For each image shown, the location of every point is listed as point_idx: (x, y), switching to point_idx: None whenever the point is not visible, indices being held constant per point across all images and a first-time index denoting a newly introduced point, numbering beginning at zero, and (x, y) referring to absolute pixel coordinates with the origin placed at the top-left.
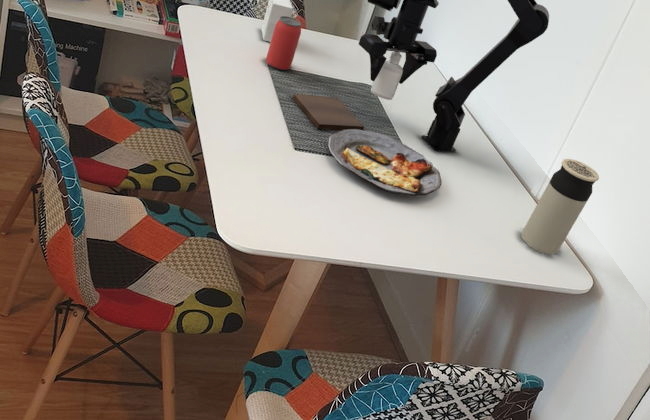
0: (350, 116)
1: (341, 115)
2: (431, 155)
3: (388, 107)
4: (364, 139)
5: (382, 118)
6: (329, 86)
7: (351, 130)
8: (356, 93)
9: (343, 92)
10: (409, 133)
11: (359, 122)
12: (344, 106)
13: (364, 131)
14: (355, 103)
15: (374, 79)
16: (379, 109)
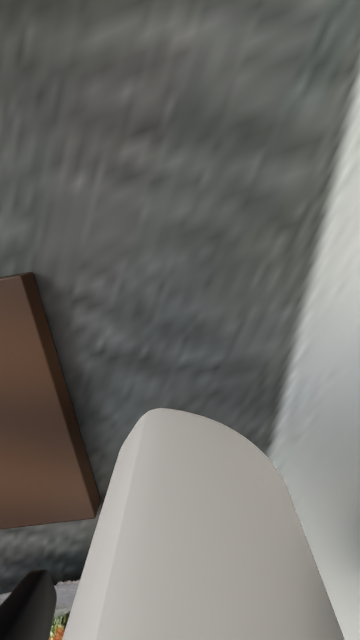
0: (49, 456)
1: (6, 458)
2: (337, 594)
3: (357, 237)
4: (62, 605)
5: (250, 375)
6: (32, 60)
7: (4, 599)
8: (204, 103)
9: (112, 123)
10: (331, 471)
11: (81, 494)
12: (41, 369)
13: (63, 591)
14: (149, 254)
15: (44, 630)
16: (279, 281)
